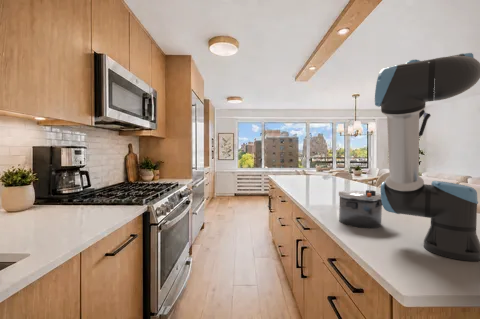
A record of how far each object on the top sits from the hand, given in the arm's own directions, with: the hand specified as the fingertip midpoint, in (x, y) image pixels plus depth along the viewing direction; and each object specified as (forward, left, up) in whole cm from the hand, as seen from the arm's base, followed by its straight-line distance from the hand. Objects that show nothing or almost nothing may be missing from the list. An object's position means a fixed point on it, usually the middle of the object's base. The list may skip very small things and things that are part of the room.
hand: (411, 151), depth 111 cm
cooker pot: (-11, +18, -34) cm, 40 cm away
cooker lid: (-11, +18, -22) cm, 30 cm away
